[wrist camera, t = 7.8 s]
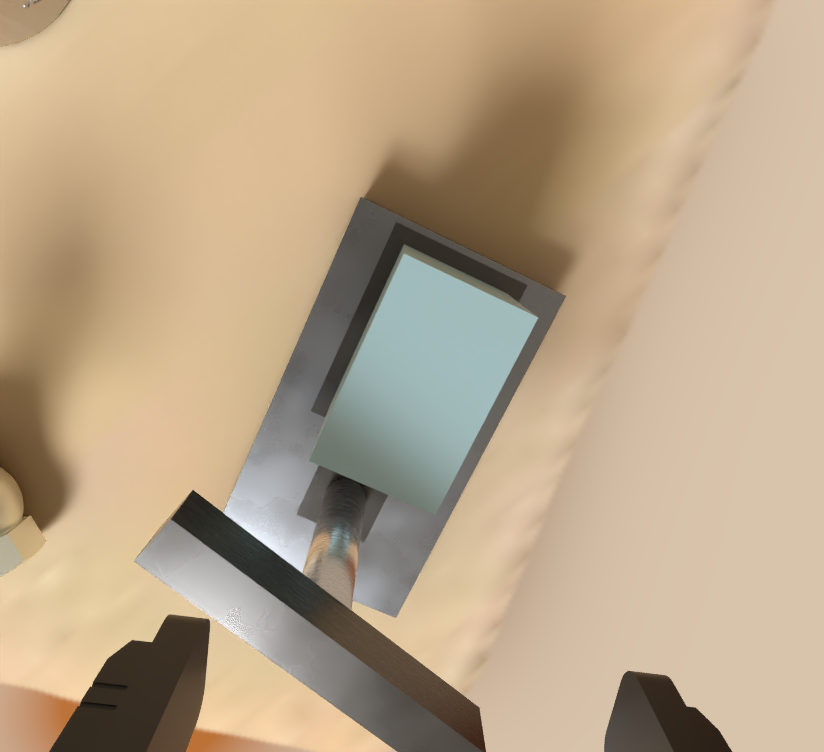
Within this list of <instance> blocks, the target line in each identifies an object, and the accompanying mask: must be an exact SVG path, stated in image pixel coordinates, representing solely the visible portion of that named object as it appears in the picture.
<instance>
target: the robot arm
mask: <svg viewBox="0 0 824 752" xmlns="http://www.w3.org/2000/svg"><path fill="white" fill-rule="evenodd" d="M69 1H70V0H0V46H5V45H10V44H15V43H19V42H22V41H24V40H26V39H28V38H30V37H32V36H34V35H36V34H38V33H40V32H41V31H42V30H43V29H45V28H46V27H47V26H48V25H49V24H51V23H52V22H53V21H54V20H55V19H56V18H57V17H58V16H59V14H60V13H61V12H62V10H63V9H64V7H65V6H66V5H67V3H68V2H69ZM209 633H210V621H209V619H203V618H195V617H186V616H178V615H168V616H167V617H166V619H165V620H164V622H163V624H162V626H161V627H160V629H159V631H158V633H157V635H156V637H155V638H154V640H153V642H143V641H135V640H132V641H130V642H129V643H128V644H126V645H125V646H124V647H122V648H121V649H120V650H119V651H117V652H116V653H115V654H113V655H112V656H111V657H109V658H108V659H107V661H106V662H105V664H104V666H103V667H102V669H101V670H100V672H99V674H98V675H97V677H96V678H95V680H94V681H93V685H92V687H90V688H89V689H88V691H87V693H86V694H85V696H84V697H83V699H82V701H81V704H80V706H79V707H77V708H76V710H75V712H74V713H73V715H72V716H71V718H70V720H69V721H68V723H67V725H66V726H65V728H64V729H63V731H62V732H61V734H60V735H59V737H58V739H57V740H56V742H55V743H54V745H53V747H52V748H51V750H50V752H186V749H187V747H188V744H189V741H190V739H191V736H192V734H193V731H194V728H195V726H196V723H197V720H198V717H199V713H200V709H201V705H202V700H203V695H204V688H205V678H206V667H207V655H208V644H209ZM604 745H605V746H604V752H732V751H731V749H730V748H729V746H728V744H727V743H726V741H725V739H724V738H723V736H722V735H721V733H720V731H719V730H718V729H717V728H716V727H715V726H714V725H713V724H712V723H711V722H710V721H709V720H708V719H707V718H706V717H705V716H704V715H703V714H702V713H700V711H698V710H697V709H696V708H694V707H687V706H686V705H685V703H684V702H683V699H682V698H681V696H680V694H679V692H678V691H677V689H676V687H675V686H674V684H673V682H672V681H671V679H670V678H669V677H668V676H665V675H658V674H650V673H641V672H633V671H627V672H626V673H625V674H624V675H623V678H622V680H621V683H620V687H619V690H618V693H617V697H616V700H615V704H614V707H613V711H612V714H611V717H610V721H609V724H608V728H607V731H606V735H605V744H604Z"/></svg>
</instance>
